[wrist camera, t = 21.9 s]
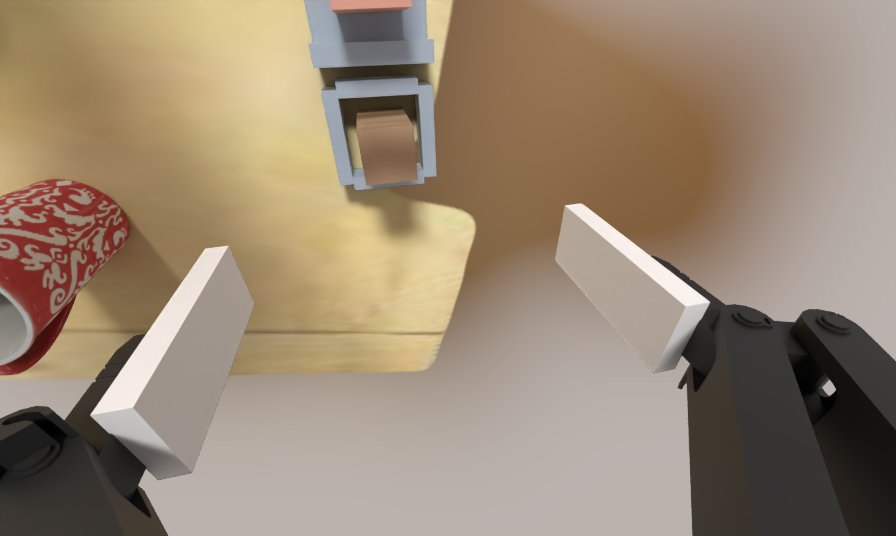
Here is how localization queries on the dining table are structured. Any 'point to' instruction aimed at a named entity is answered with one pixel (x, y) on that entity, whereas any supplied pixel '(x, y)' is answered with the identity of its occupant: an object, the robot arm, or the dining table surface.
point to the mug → (49, 261)
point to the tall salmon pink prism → (368, 6)
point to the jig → (370, 45)
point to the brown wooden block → (386, 145)
